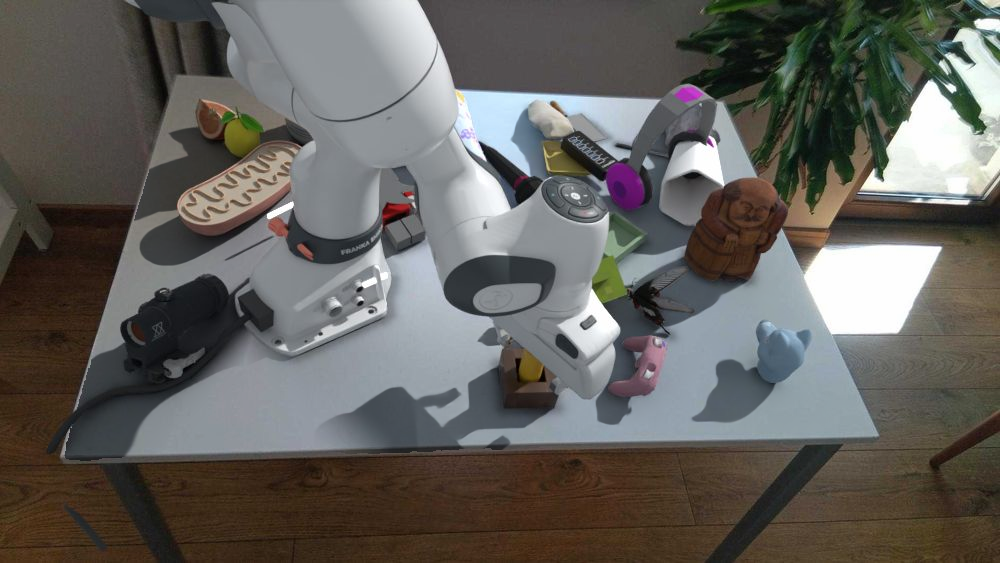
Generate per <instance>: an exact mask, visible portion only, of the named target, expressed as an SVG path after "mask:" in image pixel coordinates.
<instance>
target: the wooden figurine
mask: <svg viewBox="0 0 1000 563" xmlns="http://www.w3.org/2000/svg"><path fill="white" fill-rule="evenodd" d="M788 215H789V208H788V205H787V204H786V202H784V200H782V199H781V198H780V196H779V193H778V191H777V189H776V188H775V186H774V185H773V184H772V183H771V182H769V181H767V180H765V179H763V178H760V177H755V176H754V177H751V176H750V177H741V178H738V179H734V180H732V181H729V182H728V183H726V184H724V188H721V189H717V190H715V191H713V192H711V193H710V195H709V197H708V199H707V201H706V203H705V204H704V206H703V207H702V210H701V217H702V218H701V219H700V220H699V221H698V222H697V223H696V224H694V226H693V229H692V230H691V232H690V235H689V237H688V240H687V243H686V247H685V250H684V257H683V258H684V261H685V263H686V264H687V265H688V266H689V267H690V269H691V270H692V271H693V272H695V273H696V275H698V276H700V277H702V278H704V279H706V280H708V281H712V282H715V281H717V280H721V281H729V282H735V281H736V280H737V278H739V279H744V280H747V281H749V280H750V279H752V277H753V275H754V273H755V270H756V268H757V266H758V264H759V263H760V262H759V261H760V260H761V256H762V254H765V253H767V252H768V251H770V250H771V249H772V248H773V246H774V244H775V243H776V241H777V240H778V234H779V233H780V232H781V230H782V228H783V227H784V225H785V223H786V220H787V218H788Z"/></svg>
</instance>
